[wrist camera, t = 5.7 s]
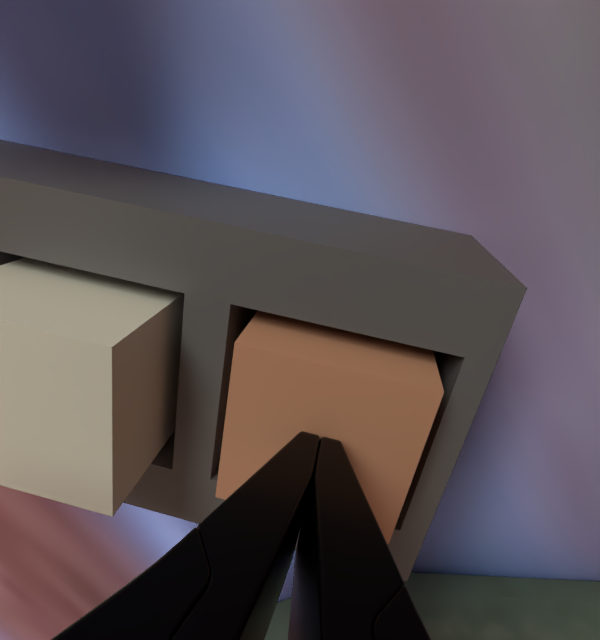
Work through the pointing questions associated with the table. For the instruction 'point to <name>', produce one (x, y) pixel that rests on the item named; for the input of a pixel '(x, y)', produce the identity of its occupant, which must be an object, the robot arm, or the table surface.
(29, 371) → the white key
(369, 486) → the terracotta key
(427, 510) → the keypad
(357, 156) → the table surface
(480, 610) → the tea set
